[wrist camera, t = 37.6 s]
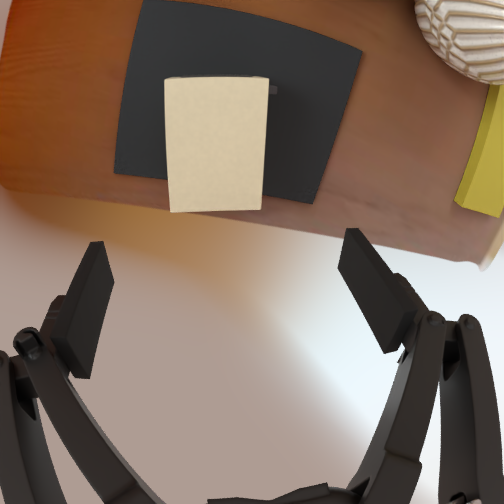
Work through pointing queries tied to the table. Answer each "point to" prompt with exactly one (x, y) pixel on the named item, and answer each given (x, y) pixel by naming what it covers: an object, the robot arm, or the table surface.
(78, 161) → the table surface
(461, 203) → the flat olive board
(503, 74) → the vase
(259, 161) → the toaster
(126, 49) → the table surface
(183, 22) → the mat
